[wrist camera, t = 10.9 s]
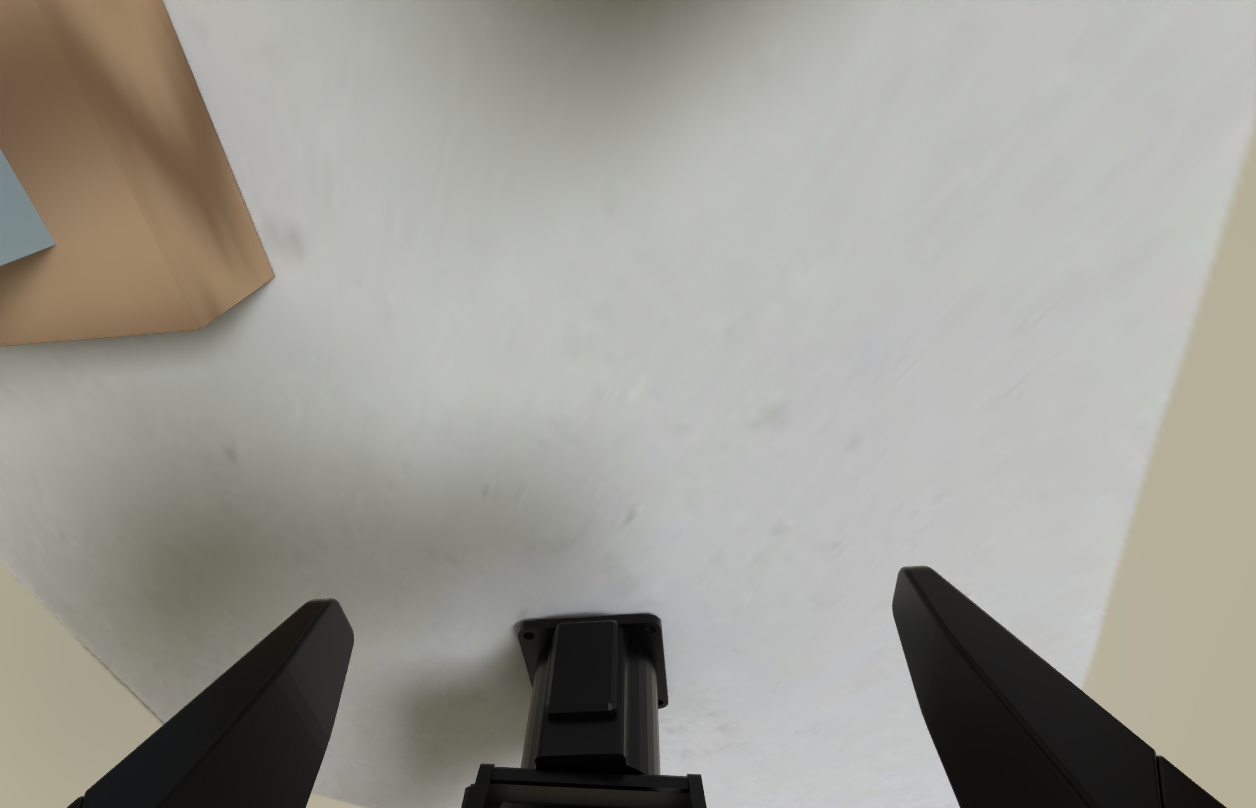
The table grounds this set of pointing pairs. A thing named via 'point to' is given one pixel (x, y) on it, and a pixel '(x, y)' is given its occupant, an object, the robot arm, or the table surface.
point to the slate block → (18, 219)
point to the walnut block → (116, 177)
